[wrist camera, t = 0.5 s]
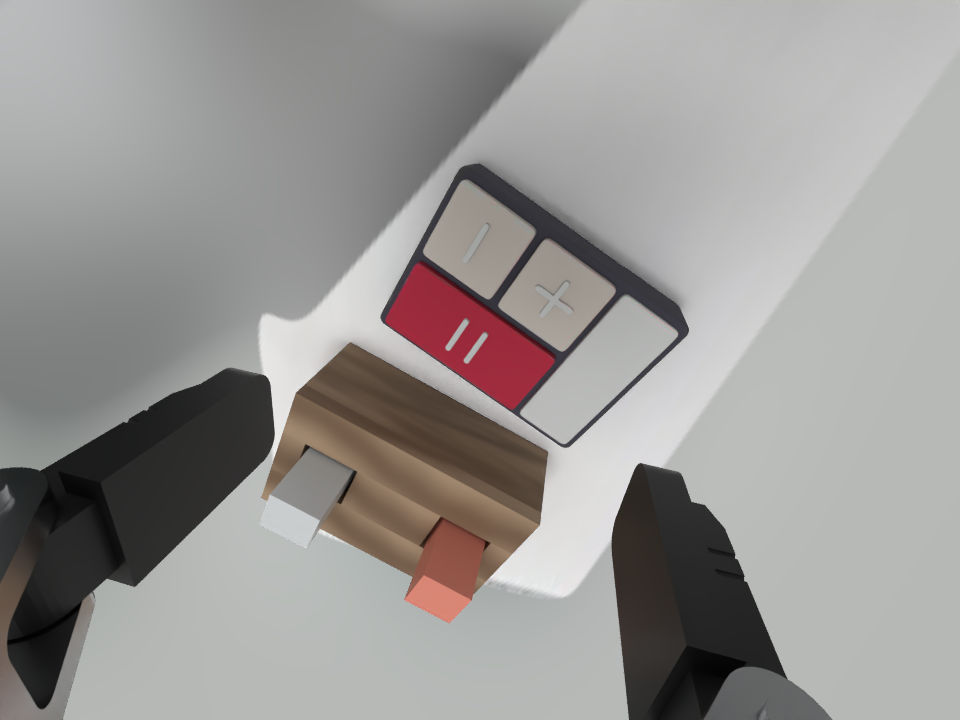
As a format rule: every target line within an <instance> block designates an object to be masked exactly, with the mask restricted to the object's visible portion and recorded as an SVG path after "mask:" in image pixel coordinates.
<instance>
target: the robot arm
mask: <svg viewBox="0 0 960 720" xmlns="http://www.w3.org/2000/svg"><path fill="white" fill-rule="evenodd" d="M274 436H275V431H274V419H273V408H272V397H271V386H270V382H269V380H268V378H267V377H266V376H264V375H261V374H257V373H252V372H248V371H244V370H239V369H235V368H227V369H225V370H223V371H221V372H219V373H218V374H216V375H214V376H213V377H211V378H210V379H208V380H207V381H205V382H203V383H201V384H199V385H196V386H193V387H190V388H187V389H184V390H181V391H178V392H176V393H173V394H171V395H169V396H167V397H165V398H164V399H162V400H160V401H159V402H157V403H155V404H154V405H152V406H150V407H149V409H148V410H147V411H145V410H143V411H142V412H140V413H138V414H136V415H135V416H133V417H131V418H130V419H129V421H128V422H127V423H125V422H123V423H121V424H119V425H118V426H116V427H115V428H113V429H111V430H109V431H108V432H106V433H104V434H103V435H101V436H99V437H97V438H96V439H94V440H92V441H91V442H89V443H87V444H86V445H84V446H82V447H80V448H79V449H77V450H75V451H74V452H72V453H70V454H68V455H67V456H65V457H63V458H62V459H60V460H58V461H57V462H55V463H53V464H52V465H50V466H48V467H46V468H45V469H43V470H41V471H39V470H37V469H32V468H23V467H12V468H2V469H0V720H63V717H64V712H65V709H66V705H67V702H68V698H69V695H70V691H71V687H72V684H73V681H74V677H75V673H76V670H77V666H78V663H79V659H80V656H81V652H82V649H83V645H84V642H85V638H86V634H87V631H88V628H89V624H90V620H91V617H92V613H93V610H94V606H95V595H94V592H93V590H95V589H96V588H97V587H98V586H99V585H100V584H101V583H102V582H103V581H105V580H106V579H110V580H113V581H117V582H120V583H124V584H127V585H130V586H134V587H135V586H136V585H137V584H138V583H140V581H141V580H143V579H144V578H145V577H146V576H147V575H148V574H149V572H151V571H152V570H153V569H154V568H155V567H156V566H157V565H158V564H159V563H160V562H161V561H162V560H163V559H164V558H165V557H166V556H167V555H168V554H169V553H170V552H171V551H172V550H173V549H174V548H175V547H176V546H177V545H178V544H179V543H180V542H181V541H182V540H183V539H184V538H185V537H186V536H187V535H188V534H189V533H190V532H191V531H192V530H193V529H195V528H196V526H197V525H199V524H200V523H201V522H202V521H203V520H204V519H205V518H206V517H207V516H208V515H209V514H210V513H211V512H212V511H213V510H214V509H215V508H216V507H217V506H218V505H219V504H220V503H221V502H222V501H223V500H224V499H225V498H226V497H227V496H228V495H229V494H230V493H231V492H232V491H233V490H234V489H235V488H236V487H237V486H238V485H239V484H240V483H241V482H242V481H243V480H244V479H245V478H246V477H248V475H250V474H251V472H253V471H254V470H255V469H256V468H257V467H258V466H259V465H260V463H262V462H263V461H264V460H265V458H266V457H267V455H268V454H269V452H270V450H271V448H272V445H273V442H274ZM612 558H613V568H614V578H615V587H616V597H617V607H618V616H619V625H620V635H621V646H622V655H623V665H624V674H625V685H626V694H627V704H628V714H629V720H832V719H831V717H830V716H829V715H828V714H827V713H826V711H825V710H824V709H823V708H822V707H821V706H820V705H819V704H818V703H817V702H816V701H815V700H814V699H813V698H812V697H810V696H809V695H808V694H807V693H806V692H805V691H804V690H802V689H801V688H799V687H798V686H797V685H795V684H794V683H793V682H791V681H789V680H788V679H787V677H786V675H785V673H784V670H783V668H782V665H781V663H780V661H779V658H778V656H777V653H776V651H775V649H774V646H773V644H772V641H771V639H770V636H769V634H768V632H767V629H766V627H765V624H764V622H763V620H762V617H761V615H760V612H759V610H758V608H757V605H756V603H755V600H754V598H753V595H752V593H751V591H750V588H749V586H748V583H747V582H745V581H744V574H743V571H742V569H741V566H740V564H739V562H738V560H737V559H735V552H734V550H733V547H732V545H731V542H730V540H729V538H728V535H727V533H726V530H725V528H724V527H723V526H722V525H721V524H720V522H719V521H718V520H717V519H716V518H715V517H714V516H713V514H712V513H711V512H710V511H709V509H708V508H707V507H706V506H705V505H702V504H697V503H694V502H691V499H690V496H689V494H688V491H687V488H686V485H685V482H684V480H683V477H682V475H681V473H679V472H676V471H672V470H668V469H663V468H659V467H655V466H650V465H646V464H642V463H640V464H638V465H637V466H636V468H635V470H634V472H633V475H632V477H631V480H630V483H629V485H628V488H627V490H626V493H625V496H624V498H623V501H622V503H621V506H620V509H619V511H618V514H617V516H616V519H615V523H614V527H613V533H612Z"/></svg>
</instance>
